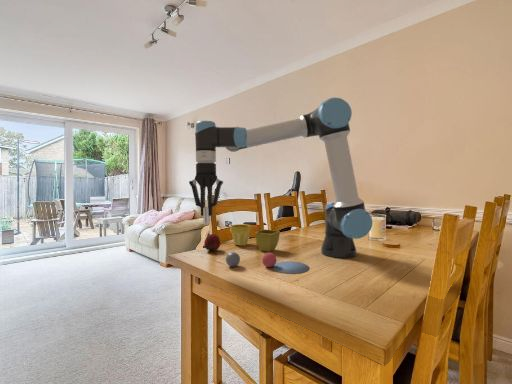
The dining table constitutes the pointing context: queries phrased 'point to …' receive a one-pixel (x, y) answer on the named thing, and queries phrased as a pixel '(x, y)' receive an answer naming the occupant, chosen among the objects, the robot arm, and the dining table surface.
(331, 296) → the dining table surface
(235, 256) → the blue-grey ball
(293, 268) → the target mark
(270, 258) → the object ball
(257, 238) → the flower pot
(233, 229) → the plant pot
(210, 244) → the dark red bumpy ball
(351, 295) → the dining table surface
